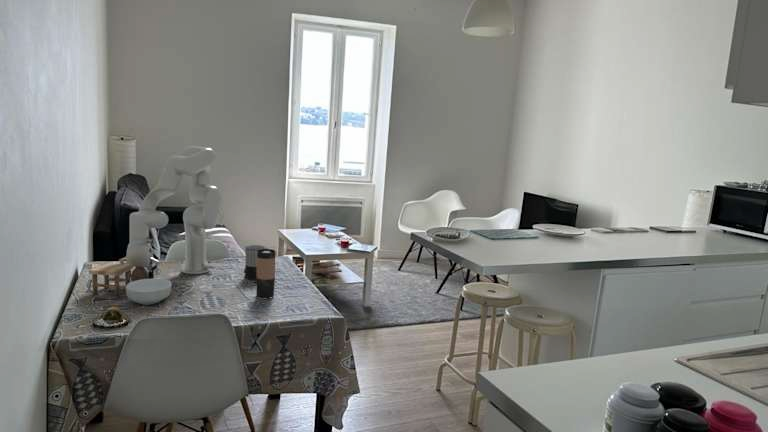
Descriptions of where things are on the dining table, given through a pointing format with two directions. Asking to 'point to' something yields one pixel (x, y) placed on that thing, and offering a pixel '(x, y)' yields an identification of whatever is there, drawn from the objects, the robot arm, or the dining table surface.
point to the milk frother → (251, 260)
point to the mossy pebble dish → (113, 317)
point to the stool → (108, 270)
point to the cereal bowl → (148, 290)
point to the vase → (139, 274)
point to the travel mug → (265, 273)
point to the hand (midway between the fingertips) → (139, 279)
